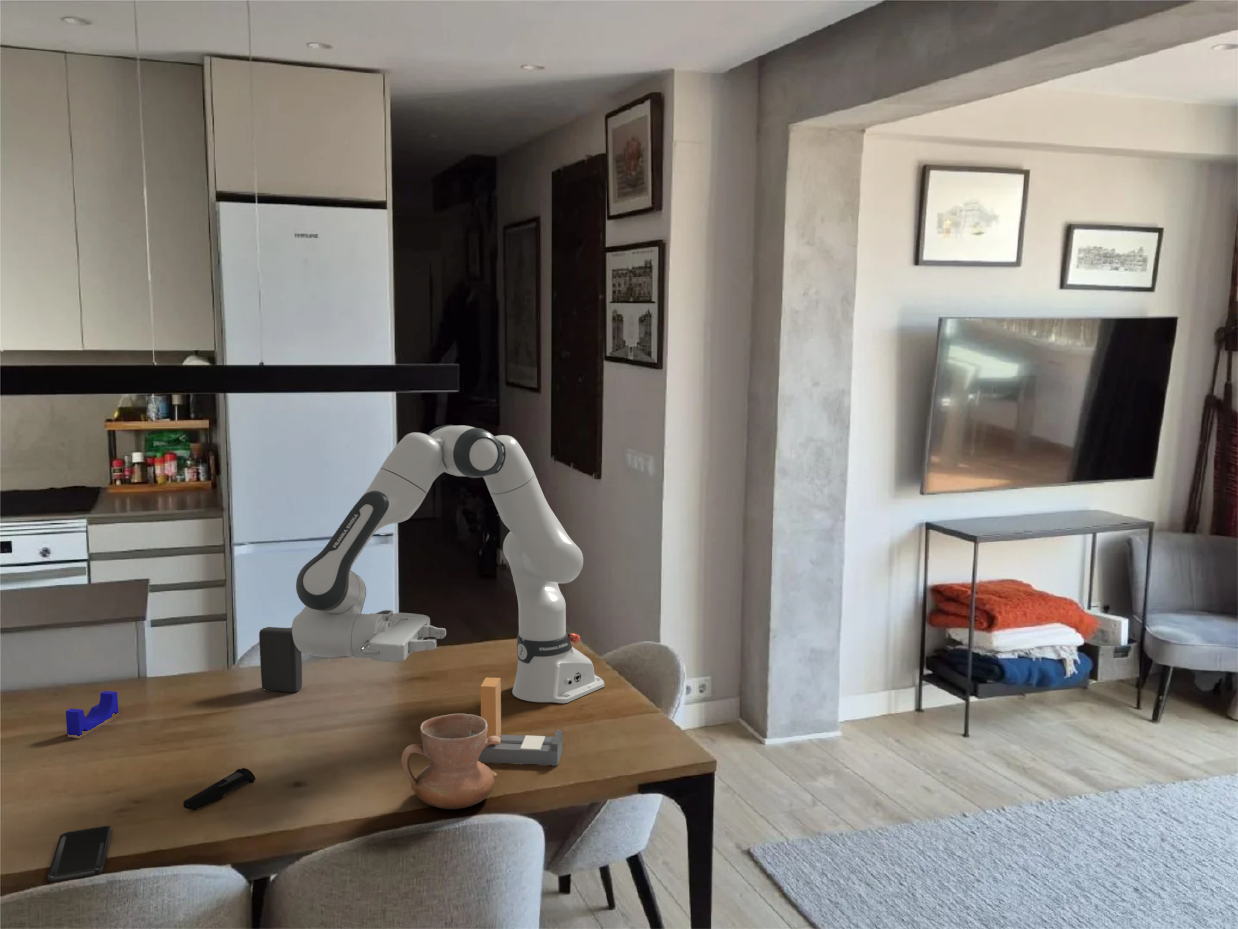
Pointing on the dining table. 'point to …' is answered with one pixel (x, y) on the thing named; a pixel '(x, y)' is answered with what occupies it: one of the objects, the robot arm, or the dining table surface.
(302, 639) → the robot arm
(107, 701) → the blue cradle holder
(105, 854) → the phone
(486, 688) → the switch tab
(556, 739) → the switch track
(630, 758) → the dining table surface
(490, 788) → the ceramic jug
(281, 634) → the dark grey upright block
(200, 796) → the electric trimmer
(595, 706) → the dining table surface
